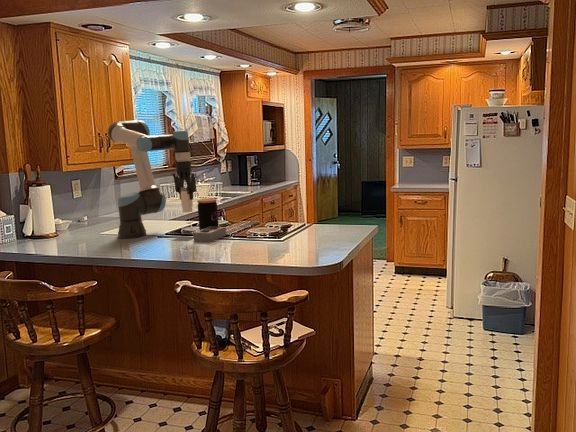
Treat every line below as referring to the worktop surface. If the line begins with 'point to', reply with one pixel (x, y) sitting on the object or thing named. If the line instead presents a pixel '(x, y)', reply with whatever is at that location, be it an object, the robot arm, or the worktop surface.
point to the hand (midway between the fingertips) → (187, 205)
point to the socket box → (209, 234)
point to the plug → (185, 200)
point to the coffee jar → (207, 213)
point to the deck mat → (183, 238)
